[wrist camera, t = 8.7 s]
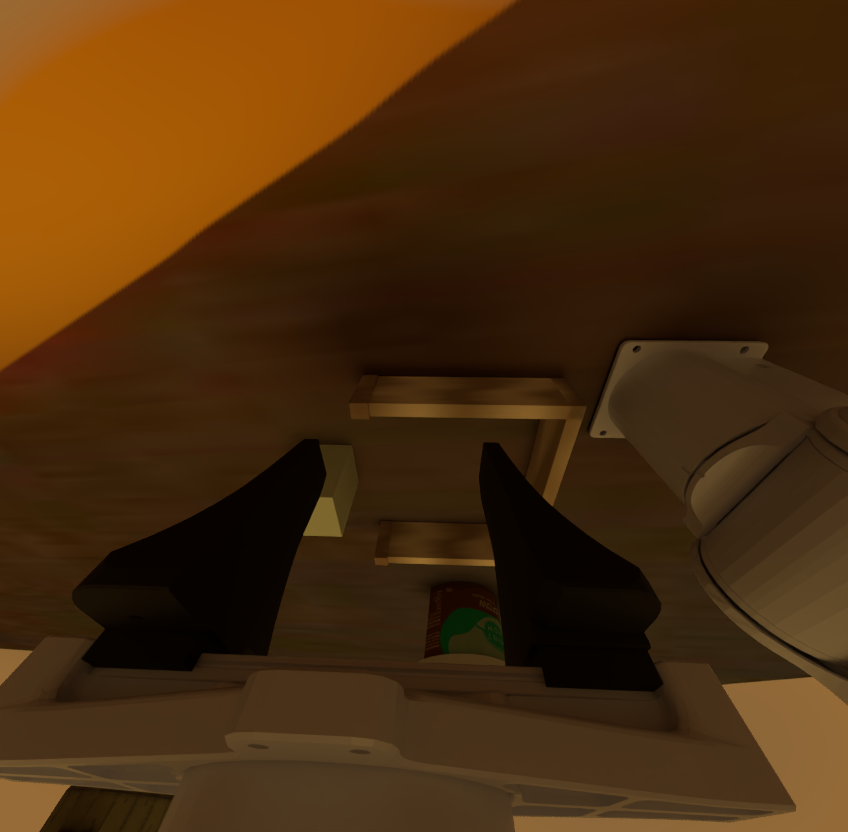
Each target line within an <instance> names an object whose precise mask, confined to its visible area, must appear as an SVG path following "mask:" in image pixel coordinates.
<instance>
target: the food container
mask: <svg viewBox="0 0 848 832" xmlns="http://www.w3.org/2000/svg"><path fill="white" fill-rule="evenodd" d="M419 662H424V663H448V664H472V665H495V666H505V657H504V645H503V634H502V628H501V624H500V620H499V615H498V611H497V607H496V602H495V598H494V596H493V594H492V592H491V591H490V590H489V589H487V588H486V587H484V586H482V585H479V584H475V583H470V582H450V583H445V584H441V585H439V586H436V587H434V588H432V589H431V594H430V604H429V614H428V624H427V634H426V644H425V654H424V659H423V660H420V661H419Z"/></svg>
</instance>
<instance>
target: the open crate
mask: <svg viewBox="0 0 848 832" xmlns="http://www.w3.org/2000/svg"><path fill="white" fill-rule="evenodd" d="M349 407H350V413H351V419H370V417H371V416H385V417H448V418H512V419H540V422H539V426H538V430H537V434H536V438H535V442H534V446H533V450H532V454H531V458H530V462H529V466H528V470H527V474H526V480H527V481H528V482H529V483H530V484H531V485H532V486H533V487H534V488H535V490H536V491H537V492H538V493H539V494H540V495H541V496H542V497H543V498H544V499H545V500H546V501H547V502H548V503H549V504H550V505H551V506H553V504H554V501H555V498H556V495H557V492H558V489H559V486H560V483H561V480H562V477H563V475H564V472H565V469H566V466H567V463H568V460H569V457H570V454H571V451H572V448H573V445H574V443H575V440H576V437H577V434H578V431H579V428H580V425H581V422H582V419H583V416H584V413H585V411H586V408H587V406H586V405H585V403H584V402H583V401H582V400H581V398H580V397H579V396H578V395H577V394H576V392H575V391H574V390H573V389H572V387H571V386H570V385H569V384H568V383H567V381H566V380H565V379H564V378H492V377H405V376H378V375H362V377H361V379H360V381H359V383H358V385H357V387H356V390H355V392H354V394H353V396H352V398H351V400H350V402H349ZM374 559H375V565H388V563H411V564H443V565H475V566H495V563H494V555H493V550H492V545H491V540H490V536H489V531H488V527H487V524H467V523H430V522H393V521H381V525H380V530H379V535H378V541H377V546H376V552H375V557H374Z"/></svg>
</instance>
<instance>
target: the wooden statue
mask: <svg viewBox="0 0 848 832" xmlns="http://www.w3.org/2000/svg"><path fill="white" fill-rule="evenodd" d="M173 798H174V795H170V794H160V793H149V792H139V791H128V790H118V789H107V788H96V787H85V786H73V785H71V786H70V787H69V788H68V789H67V790H66V792H65V793H64V795H63V796H62V798H61V799H60V801H59V802H58V804H57V806H56V807H55V809H54V810H53V812H52V813H51V815H50V816H49V818H48V819H47V821H46V822H45V824H44V826H43V827H42V829H41V830H40V832H158V830H159V828H160V826H161V824H162V822H163V819H164V817H165V815H166V813H167V811H168V809H169V806H170V804H171V802H172V800H173Z"/></svg>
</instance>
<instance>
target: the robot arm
mask: <svg viewBox="0 0 848 832" xmlns="http://www.w3.org/2000/svg"><path fill="white" fill-rule="evenodd" d="M635 346H638V347H637V349H636V350H634V351H633V348H634V347H635ZM743 347H744V348H743ZM742 348H743V349H742ZM741 349H742V350H741ZM767 349H768V344H767V343H765V342H761V341H670V340H628V341H625V342H623V343H622V344H621V345H620V347H619V349H618V352H617V354H616V357H615V360H614V363H613V365H612V368H611V371H610V374H609V376H608V379H607V382H606V384H605V387H604V390H603V393H602V395H601V398H600V401H599V404H598V406H597V409H596V412H595V415H594V417H593V420H592V423H591V425H590V428H589V434H590V436H591V437H594V438H626V439H627V440H628V441H629V442H630V443H631V444H632V446H633V447H634V448H635V449H636V450H637V451H638V452H639V454H640V455H641V456H642V457H643V458H644V459H645V460H646V461H647V463H648V464H649V465H650V466H651V467H652V468H653V469H654V471H655V472H656V473H657V474H658V475H659V476H660V477H661V479H662V480H663V481H664V482H665V483H666V484H667V485H668V487H669V488H670V489H671V490H672V491H673V492H674V493H675V495H676V496H677V497H678V498H679V499H680V500H681V501H682V503H683V504H684V505H685V506H686V507H687V509H688V510H687V514H686V516H685V517H684V518H683V520H682V521H683V522H684V523H685V525H686V526H687V527H688V528H689V529H690V531H691V532H692V533H693V534H694V536H695V537H696V538H697V539H696V540H695V541H694V542H693V544H692V545H691V548H690V552H689V556H690V562H691V566H692V569H693V571H694V573H695V575H696V577H697V579H698V581H699V582H700V584H701V585H702V587H703V588H704V590H705V591H706V592H707V594H708V595H709V596H710V597H711V599H712V600H713V601H714V602H715V603H716V605H717V606H718V607H719V608H720V609H721V610H722V611H723V612H724V613H725V614H726V615H727V616H728V617H729V618H730V619H731V620H732V621H733V622H734V623H735V624H736V625H738V626H739V627H740V628H741V629H742V630H744V631H745V632H746V633H748V634H749V635H750V636H752V637H753V638H754V639H756V640H757V641H758V642H760V643H761V644H763V645H764V646H765V647H767V648H769V649H770V650H772V651H773V652H775V653H777V654H778V655H780V656H781V657H783V658H785V659H786V660H788V661H790V662H791V663H793V664H795V665H796V666H798V667H799V668H801V669H802V670H804V671H805V672H806V673H808V674H809V675H811V676H812V677H814V678H815V679H816V680H818V681H819V682H820V683H822V684H823V685H824V686H825V687H827V688H828V689H829V690H830V691H832V692H833V693H834V694H835V695H836V696H838V697H839V698H840V699H841V700H842V701H843V702H845V703H846V704H847V705H848V395H847V394H845V393H842V392H840V391H838V390H835V389H833V388H830V387H828V386H826V385H823V384H821V383H819V382H816V381H814V380H811V379H809V378H807V377H804V376H802V375H799V374H797V373H795V372H792V371H790V370H788V369H785V368H783V367H780V366H778V365H776V364H773V363H771V362H769V361H766V360H764V359H762V357H763V356H764V354H765V353H766V351H767ZM740 350H741V351H740ZM601 431H603V432H602V433H600V432H601ZM326 475H327V473H326V469H325V465H324V461H323V457H322V453H321V449H320V445H319V441H318V439H304V440H303V441H301V442H300V443H299V444H298V445H296V446H295V447H294V448H293V449H291V450H290V451H289V452H288V453H286V454H285V455H284V456H283V457H281V458H280V459H279V460H278V461H276V462H275V463H274V464H273V465H271V466H270V467H269V468H268V469H266V470H265V471H264V472H262V473H261V474H259V475H258V476H257V477H255V478H254V479H253V480H251V481H250V482H249V483H247V484H246V485H244V486H243V487H241V488H240V489H238V490H237V491H235V492H234V493H232V494H231V495H229V496H227V497H226V498H224V499H222V500H221V501H219V502H217V503H216V504H214V505H212V506H210V507H208V508H207V509H205V510H203V511H201V512H199V513H197V514H196V515H194V516H192V517H190V518H188V519H186V520H184V521H182V522H180V523H178V524H176V525H174V526H172V527H169V528H167V529H165V530H163V531H161V532H158V533H156V534H154V535H152V536H149V537H147V538H144V539H142V540H140V541H137V542H135V543H132V544H130V545H127V546H125V547H122V548H120V549H117V550H115V551H112V552H111V553H109V555H108V556H107V557H106V558H105V559H104V560H103V561H102V562H101V563H100V564H99V565H98V566H97V567H96V568H95V569H94V570H93V571H92V572H91V573H90V574H89V575H88V576H87V577H86V578H85V579H84V580H83V581H82V582H81V583H80V584H79V585H78V586H77V587H76V588H75V589H74V590H73V592H72V600H73V602H74V604H75V605H76V606H77V607H78V608H79V609H80V610H81V611H83V612H84V613H85V614H87V615H88V616H89V617H91V618H92V619H93V620H95V621H96V622H97V623H99V624H100V625H101V626H102V627H104V628H105V630H104V631H103V632H102V634H101V635H100V636H99V637H98V639H97V640H95V639H92V638H89V637H83V636H60V635H50V636H48V637H46V638H45V639H44V640H43V641H42V642H41V643H40V644H39V645H38V646H37V647H36V648H35V649H34V651H33V652H32V653H31V654H30V655H29V656H28V657H27V658H26V659H25V660H24V661H23V662H22V663H21V664H20V666H19V667H18V668H17V669H16V670H15V671H14V672H13V673H12V674H11V675H10V676H9V677H8V678H7V679H6V680H5V681H4V683H3V684H2V685H1V686H0V778H1V779H5V780H9V781H16V782H33V783H47V784H60V785H73V786H85V787H96V788H107V789H118V790H128V791H139V792H149V793H160V794H170V795H174V798H173V800H172V802H171V804H170V806H169V809H168V811H167V813H166V815H165V817H164V819H163V822H162V824H161V826H160V828H159V830H158V832H515V830H514V821H513V816H531V817H584V818H633V819H667V820H692V821H713V822H735V821H741V820H747V819H753V818H759V817H765V816H771V815H777V814H783V813H789V812H794V811H796V805H795V803H794V802H793V800H792V799H791V797H790V795H789V794H788V792H787V790H786V789H785V787H784V786H783V784H782V782H781V781H780V779H779V777H778V776H777V774H776V773H775V771H774V769H773V768H772V766H771V764H770V763H769V761H768V760H767V758H766V757H765V755H764V753H763V751H762V750H761V748H760V747H759V745H758V743H757V742H756V740H755V739H754V737H753V735H752V734H751V732H750V730H749V729H748V727H747V725H746V724H745V722H744V721H743V719H742V717H741V716H740V714H739V713H738V711H737V709H736V708H735V706H734V704H733V703H732V701H731V699H730V698H729V696H728V695H727V693H726V691H725V690H724V688H723V687H722V685H721V683H720V682H719V680H718V678H717V677H716V675H715V673H714V672H713V670H712V669H711V667H710V665H709V664H707V663H705V662H698V661H674V660H666V661H659V662H655V663H653V661H652V659H651V657H650V655H649V653H648V651H647V650H649V649H650V648H651V647H650V643H649V641H648V639H647V637H646V635H645V633H644V632H645V630H646V629H647V628H648V627H649V626H650V625H651V624H652V623H653V622H654V620H655V619H656V618H657V617H658V615H659V613H660V611H661V603H660V601H659V599H658V597H657V596H656V594H655V592H654V590H653V589H652V587H651V585H650V584H649V582H648V580H647V579H646V577H645V576H644V575H643V573H642V572H641V570H640V569H639V568H638V567H637V566H635V565H633V564H632V563H630V562H628V561H627V560H625V559H623V558H622V557H620V556H619V555H617V554H615V553H614V552H612V551H610V550H609V549H607V548H606V547H604V546H603V545H601V544H600V543H598V542H597V541H596V540H594V539H593V538H591V537H590V536H588V535H587V534H586V533H584V532H583V531H582V530H580V529H579V528H578V527H576V526H575V525H574V524H573V523H571V522H570V521H569V520H568V519H566V518H565V517H564V516H563V515H562V514H560V513H559V512H558V511H557V510H556V509H555V508H554V507H553V506H551V505H550V504H549V503H548V502H547V501H546V500H545V499H544V498H543V497H542V496H541V495H540V494H539V493H538V492H537V491H536V490H535V488H534V487H533V486H532V485H531V484H530V483H529V482H528V481H527V480H526V478H525V477H524V476H523V475H522V474H521V472H520V471H519V470H518V469H517V467H516V466H515V465H514V464H513V462H512V461H511V460H510V458H509V457H508V456H507V454H506V453H505V451H504V450H503V449H502V447H501V446H500V444H499V443H485V442H484V443H483V450H482V458H481V465H480V473H479V483H480V493H481V500H482V505H483V509H484V514H485V518H486V523H487V527H488V531H489V536H490V540H491V545H492V550H493V555H494V563H495V570H496V578H497V587H498V596H499V604H500V614H501V624H502V634H503V645H504V657H505V666H495V665H472V664H448V663H424V662H400V661H376V660H353V659H329V658H305V657H281V656H267V654H268V650H269V646H270V642H271V637H272V633H273V629H274V625H275V621H276V618H277V614H278V610H279V607H280V603H281V599H282V596H283V592H284V589H285V586H286V582H287V579H288V576H289V572H290V569H291V566H292V563H293V560H294V557H295V554H296V551H297V548H298V546H299V543H300V541H301V538H302V536H303V534H304V532H305V529H306V527H307V525H308V523H309V521H310V518H311V516H312V514H313V512H314V509H315V507H316V505H317V502H318V500H319V498H320V495H321V492H322V489H323V486H324V482H325V479H326Z"/></svg>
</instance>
